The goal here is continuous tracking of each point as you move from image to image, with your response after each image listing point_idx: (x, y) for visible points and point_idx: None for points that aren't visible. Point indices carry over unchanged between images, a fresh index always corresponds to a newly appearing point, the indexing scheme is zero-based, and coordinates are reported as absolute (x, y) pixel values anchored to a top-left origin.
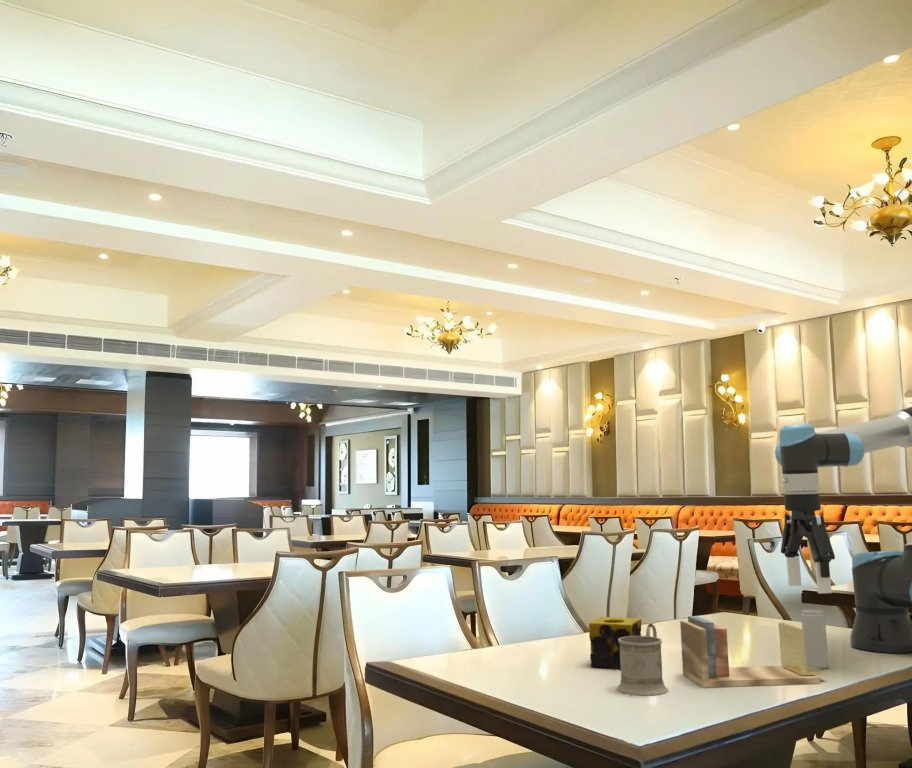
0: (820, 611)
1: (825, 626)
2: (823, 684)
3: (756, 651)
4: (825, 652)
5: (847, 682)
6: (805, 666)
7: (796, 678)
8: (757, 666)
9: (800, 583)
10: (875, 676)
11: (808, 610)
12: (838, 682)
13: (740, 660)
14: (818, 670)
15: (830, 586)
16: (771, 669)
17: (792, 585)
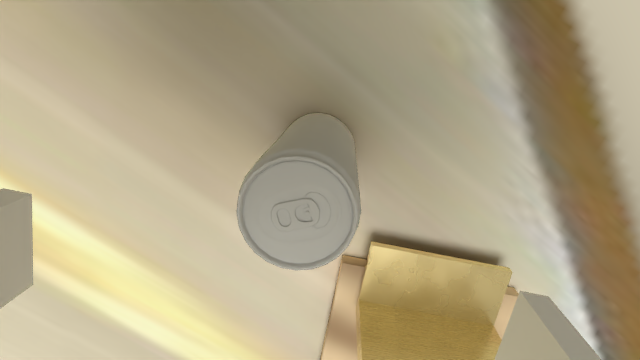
0: (303, 168)
1: (345, 155)
2: (523, 284)
3: (22, 166)
4: (354, 149)
5: (535, 207)
6: (499, 337)
7: None
8: (322, 358)
9: (16, 210)
10: (508, 62)
11: (242, 201)
12: (522, 231)
13: (155, 295)
14: (491, 281)
15: (574, 334)
16: None
17: (26, 269)
